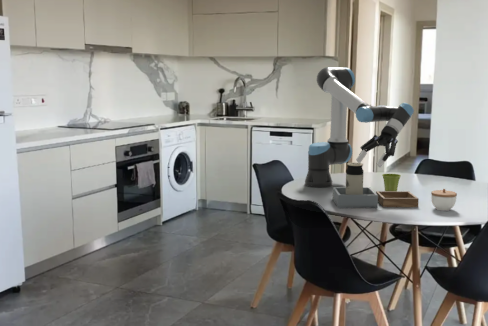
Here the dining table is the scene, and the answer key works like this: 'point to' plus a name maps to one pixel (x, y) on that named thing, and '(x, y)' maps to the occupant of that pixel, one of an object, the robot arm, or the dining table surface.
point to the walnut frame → (397, 199)
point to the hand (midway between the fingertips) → (367, 163)
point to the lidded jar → (443, 199)
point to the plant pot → (391, 181)
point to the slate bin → (355, 198)
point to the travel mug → (354, 179)
